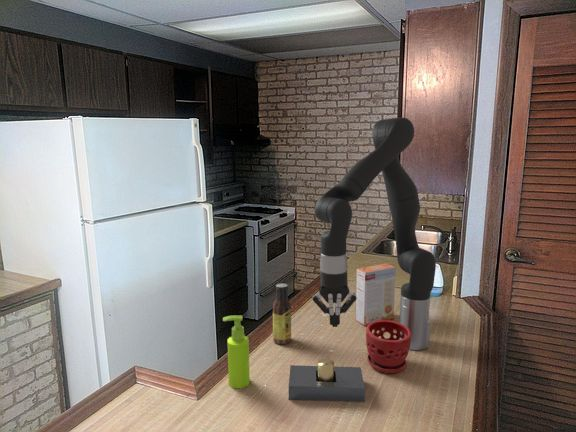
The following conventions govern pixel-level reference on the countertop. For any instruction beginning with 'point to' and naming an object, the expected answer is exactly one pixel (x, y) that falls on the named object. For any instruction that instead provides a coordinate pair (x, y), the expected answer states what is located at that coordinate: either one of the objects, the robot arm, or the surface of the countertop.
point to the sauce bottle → (281, 316)
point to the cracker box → (375, 293)
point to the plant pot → (387, 346)
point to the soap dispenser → (238, 354)
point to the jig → (326, 384)
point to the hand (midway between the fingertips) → (334, 325)
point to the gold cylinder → (325, 370)
